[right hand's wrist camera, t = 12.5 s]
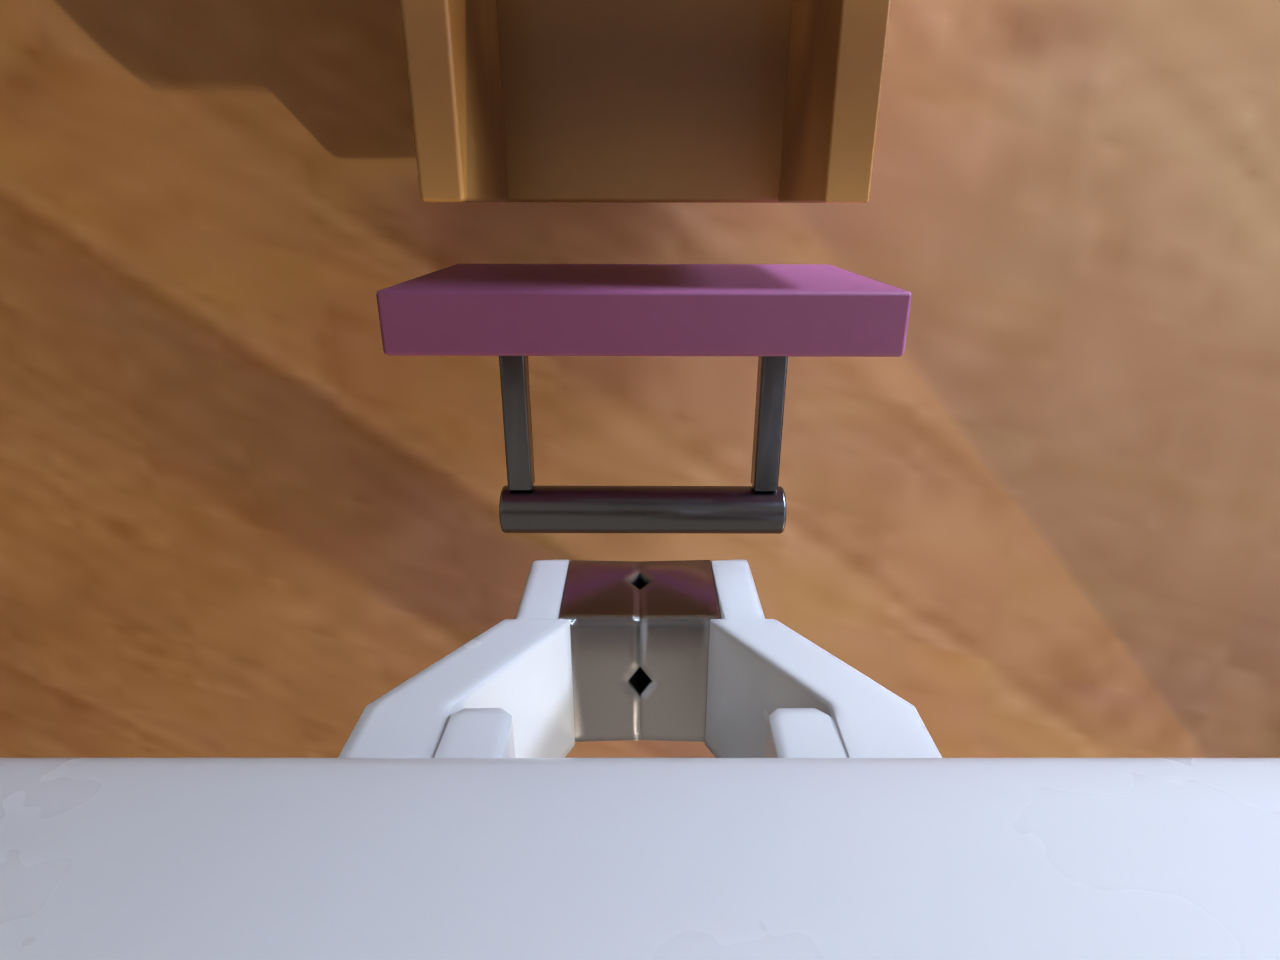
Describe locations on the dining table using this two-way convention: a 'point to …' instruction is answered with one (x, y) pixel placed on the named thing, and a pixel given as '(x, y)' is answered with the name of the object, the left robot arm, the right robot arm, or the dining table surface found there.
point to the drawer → (644, 172)
